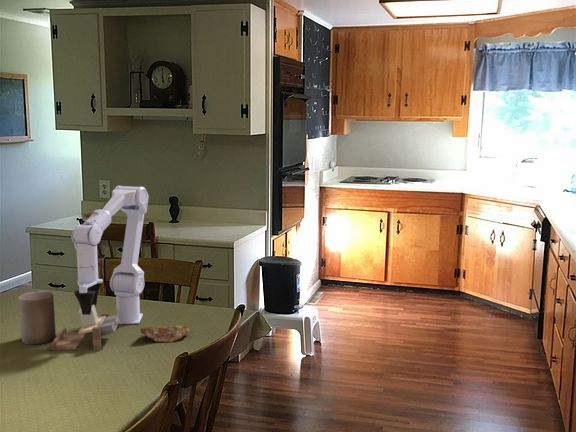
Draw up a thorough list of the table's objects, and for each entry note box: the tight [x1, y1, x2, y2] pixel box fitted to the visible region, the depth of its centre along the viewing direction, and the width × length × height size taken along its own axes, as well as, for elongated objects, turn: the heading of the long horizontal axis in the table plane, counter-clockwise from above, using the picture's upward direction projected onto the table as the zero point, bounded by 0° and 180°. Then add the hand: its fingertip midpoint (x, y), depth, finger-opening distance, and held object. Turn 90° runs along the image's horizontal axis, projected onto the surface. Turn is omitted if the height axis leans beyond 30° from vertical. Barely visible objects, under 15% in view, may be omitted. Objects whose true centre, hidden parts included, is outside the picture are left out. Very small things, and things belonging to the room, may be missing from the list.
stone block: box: [77, 305, 99, 328], centre depth 187 cm, size 4×4×5 cm
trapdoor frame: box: [50, 312, 110, 351], centre depth 188 cm, size 15×14×6 cm
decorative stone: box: [139, 325, 190, 344], centre depth 192 cm, size 10×4×15 cm
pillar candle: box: [18, 290, 57, 345], centre depth 188 cm, size 10×10×15 cm
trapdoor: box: [77, 313, 120, 336], centre depth 188 cm, size 11×10×3 cm
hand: (89, 310), depth 187 cm, fingers open, 7 cm apart
